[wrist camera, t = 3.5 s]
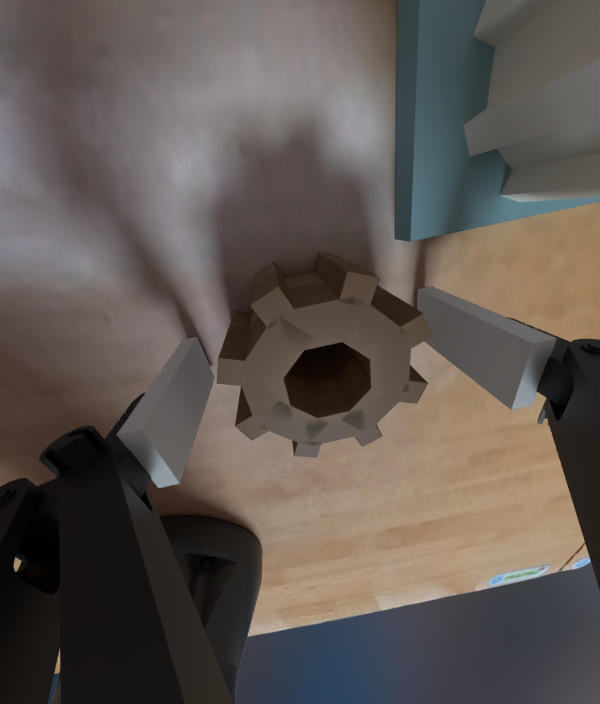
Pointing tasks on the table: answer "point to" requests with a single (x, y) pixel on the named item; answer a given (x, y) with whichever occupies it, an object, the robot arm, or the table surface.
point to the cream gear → (542, 97)
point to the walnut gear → (323, 371)
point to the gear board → (448, 126)
